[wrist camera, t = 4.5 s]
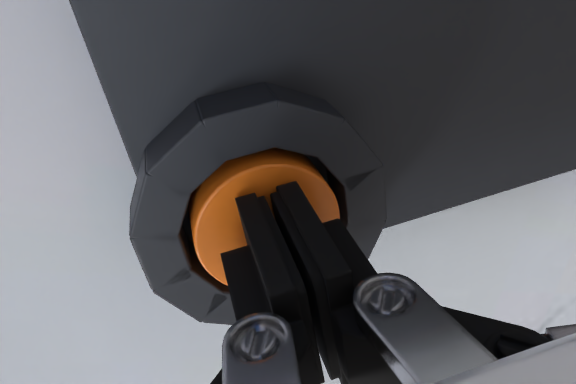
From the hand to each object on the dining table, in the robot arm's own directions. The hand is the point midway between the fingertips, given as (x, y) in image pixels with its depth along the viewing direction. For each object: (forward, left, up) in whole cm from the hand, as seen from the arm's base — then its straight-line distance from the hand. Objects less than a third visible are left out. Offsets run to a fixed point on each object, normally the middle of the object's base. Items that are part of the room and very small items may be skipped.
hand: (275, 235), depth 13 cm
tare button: (0, 0, -2) cm, 2 cm away
